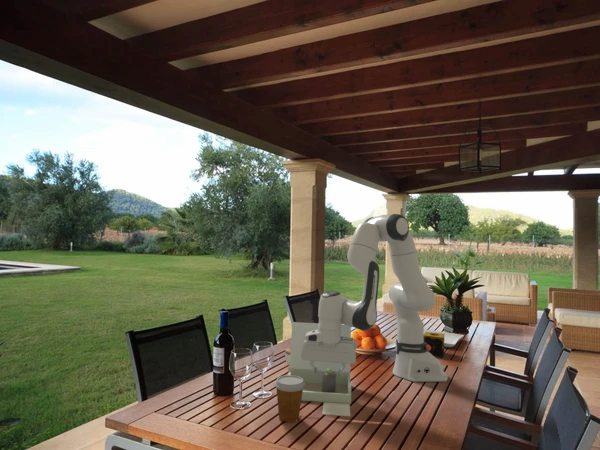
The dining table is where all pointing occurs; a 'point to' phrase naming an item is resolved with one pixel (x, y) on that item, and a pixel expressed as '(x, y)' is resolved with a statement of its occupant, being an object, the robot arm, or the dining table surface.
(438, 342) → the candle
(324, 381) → the nursery pot
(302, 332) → the pale grey-green hollow box
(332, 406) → the stone tile
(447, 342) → the square plate
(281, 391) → the disposable coffee cup
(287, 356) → the lidded jar
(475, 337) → the dining table surface
